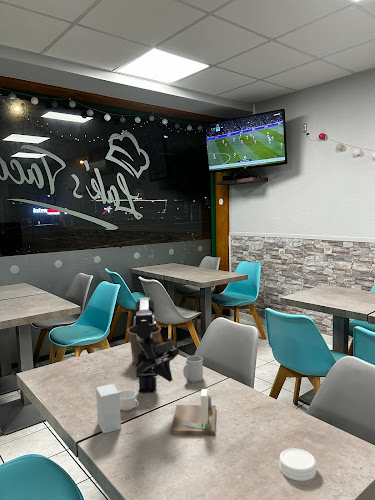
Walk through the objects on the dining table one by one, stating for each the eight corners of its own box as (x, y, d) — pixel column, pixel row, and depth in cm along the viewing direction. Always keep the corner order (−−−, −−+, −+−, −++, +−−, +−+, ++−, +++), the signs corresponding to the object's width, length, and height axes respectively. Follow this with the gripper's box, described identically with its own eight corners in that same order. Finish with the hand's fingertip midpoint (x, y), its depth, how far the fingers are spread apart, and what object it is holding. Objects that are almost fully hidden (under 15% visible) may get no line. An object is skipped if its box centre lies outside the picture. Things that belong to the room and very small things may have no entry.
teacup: (112, 409, 146) (111, 395, 146) (126, 401, 152) (126, 387, 152) (131, 417, 140) (130, 402, 140) (145, 408, 147) (145, 394, 146)
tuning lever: (201, 404, 144) (201, 378, 143) (211, 405, 144) (210, 378, 143) (198, 429, 128) (197, 400, 127) (209, 429, 128) (208, 400, 127)
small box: (121, 429, 133) (119, 392, 131) (103, 434, 130) (101, 396, 129) (115, 418, 140) (113, 383, 139) (97, 422, 137) (95, 387, 136)
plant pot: (168, 359, 194) (167, 328, 192) (143, 370, 182) (142, 336, 180) (147, 352, 205) (145, 322, 203) (122, 361, 193) (120, 329, 192)
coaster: (309, 458, 115) (309, 446, 114) (321, 481, 105) (321, 469, 105) (275, 459, 115) (275, 448, 114) (284, 483, 105) (284, 470, 104)
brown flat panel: (170, 434, 128) (170, 429, 128) (176, 408, 145) (176, 404, 145) (214, 435, 127) (214, 430, 127) (215, 409, 144) (215, 404, 144)
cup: (206, 378, 171) (205, 358, 170) (190, 385, 164) (189, 365, 163) (194, 373, 176) (194, 354, 175) (178, 380, 169) (177, 360, 169)
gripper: (142, 339, 135) (167, 378, 129) (176, 326, 150) (199, 361, 144) (126, 355, 140) (149, 394, 134) (160, 342, 155) (182, 376, 149)
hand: (171, 380), depth 140 cm, fingers closed
